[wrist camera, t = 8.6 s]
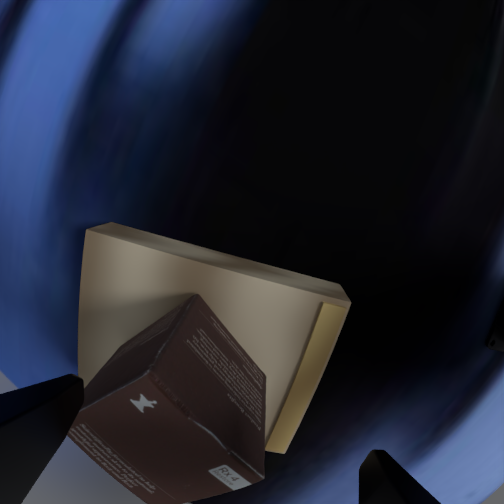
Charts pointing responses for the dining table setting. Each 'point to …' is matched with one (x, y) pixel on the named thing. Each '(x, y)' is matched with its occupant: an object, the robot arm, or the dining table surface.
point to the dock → (220, 302)
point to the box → (177, 410)
